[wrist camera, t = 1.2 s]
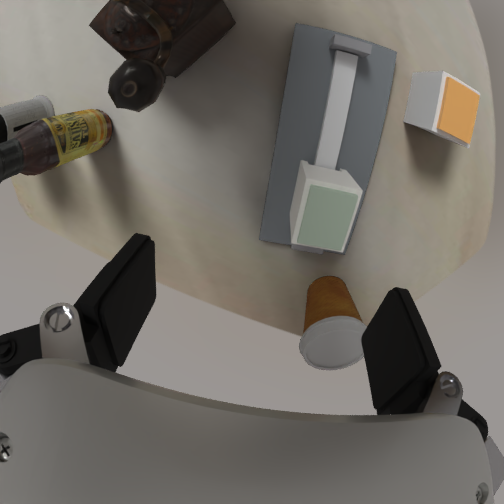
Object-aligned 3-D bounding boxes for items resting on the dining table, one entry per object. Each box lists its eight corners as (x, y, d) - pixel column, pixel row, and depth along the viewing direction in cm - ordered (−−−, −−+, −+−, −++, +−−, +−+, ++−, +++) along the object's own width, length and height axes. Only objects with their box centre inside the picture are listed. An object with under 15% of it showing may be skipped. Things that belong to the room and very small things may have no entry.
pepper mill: (124, 39, 24) (23, 27, 9) (183, -19, 20) (111, -78, 5) (200, 109, 30) (123, 128, 14) (269, 49, 25) (255, -1, 10)
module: (412, 72, 24) (445, 70, 17) (447, 89, 24) (483, 93, 17) (403, 121, 27) (434, 131, 21) (437, 135, 27) (471, 149, 21)
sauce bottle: (121, 133, 32) (10, 183, 15) (94, 157, 34) (-8, 217, 17) (100, 97, 29) (-16, 126, 12) (74, 123, 31) (-33, 167, 14)
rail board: (295, 26, 23) (300, 0, 15) (392, 53, 23) (429, 43, 15) (259, 234, 38) (253, 276, 30) (342, 249, 38) (356, 292, 30)
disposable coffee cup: (284, 289, 43) (283, 350, 33) (334, 255, 39) (349, 314, 29) (320, 321, 46) (325, 379, 36) (366, 293, 42) (384, 350, 32)
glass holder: (31, 89, 27) (-38, 107, 14) (83, 114, 30) (5, 139, 17) (20, 135, 31) (-43, 163, 19) (68, 165, 34) (0, 204, 22)
